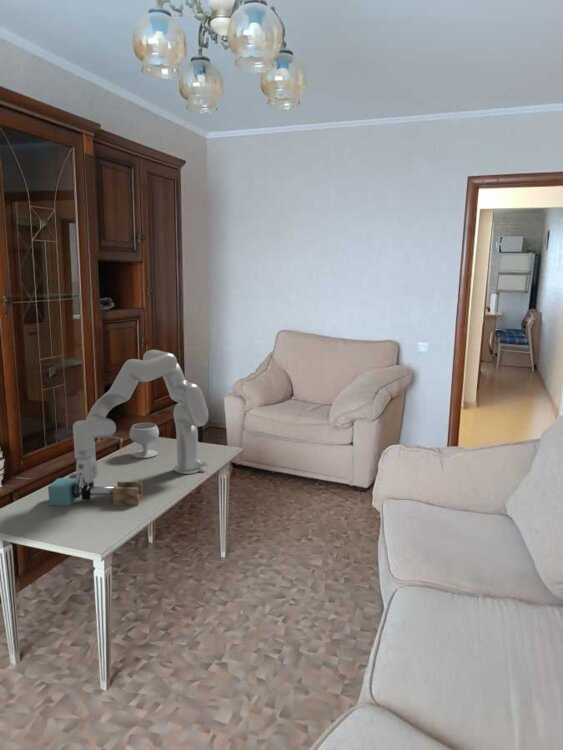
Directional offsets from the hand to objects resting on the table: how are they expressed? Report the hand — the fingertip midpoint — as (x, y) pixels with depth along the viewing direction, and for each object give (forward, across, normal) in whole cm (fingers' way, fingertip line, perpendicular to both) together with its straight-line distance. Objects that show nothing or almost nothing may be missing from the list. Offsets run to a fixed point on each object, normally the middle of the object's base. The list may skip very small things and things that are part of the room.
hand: (88, 496), depth 213 cm
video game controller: (+2, +14, +10) cm, 17 cm away
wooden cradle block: (+2, 0, -16) cm, 16 cm away
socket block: (+2, 0, +9) cm, 10 cm away
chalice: (+2, +56, -8) cm, 57 cm away
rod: (0, 0, 0) cm, 0 cm away
